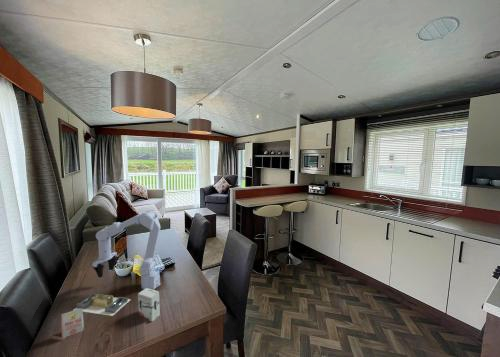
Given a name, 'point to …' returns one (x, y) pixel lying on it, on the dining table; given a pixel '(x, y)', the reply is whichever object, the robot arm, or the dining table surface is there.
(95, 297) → the brass block
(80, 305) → the chain ends
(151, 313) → the ink box
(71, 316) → the tea bag
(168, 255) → the dining table surface
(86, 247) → the dining table surface
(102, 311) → the board
